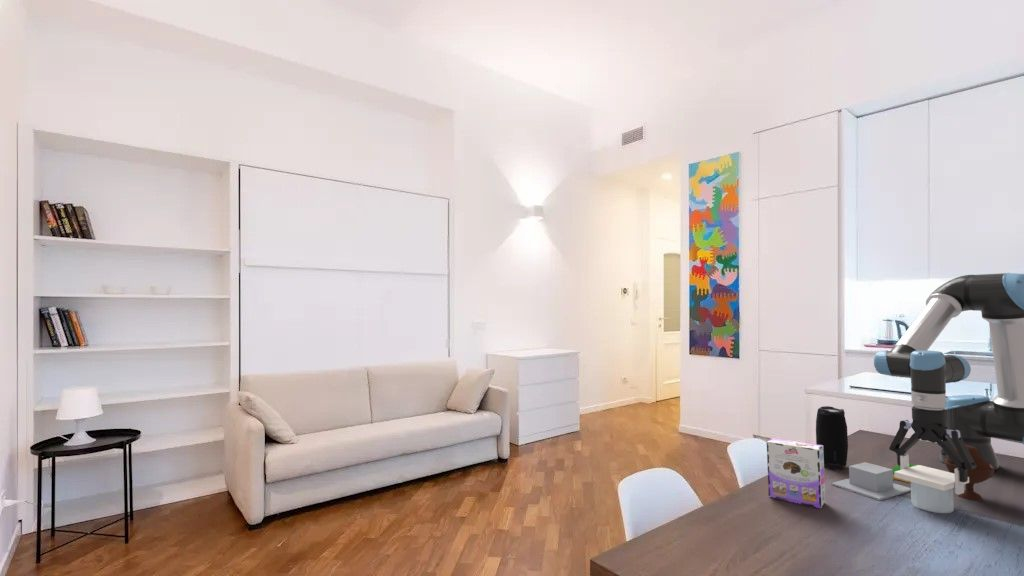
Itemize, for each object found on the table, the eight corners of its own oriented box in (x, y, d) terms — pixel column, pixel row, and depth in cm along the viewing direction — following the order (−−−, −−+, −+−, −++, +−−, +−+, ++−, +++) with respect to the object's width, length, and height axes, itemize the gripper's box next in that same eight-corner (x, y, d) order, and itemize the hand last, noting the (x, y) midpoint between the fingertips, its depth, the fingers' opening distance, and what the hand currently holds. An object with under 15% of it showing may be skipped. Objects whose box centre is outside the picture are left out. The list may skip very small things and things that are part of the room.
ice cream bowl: (1005, 505, 144) (1003, 450, 144) (959, 502, 146) (957, 448, 146) (979, 490, 154) (978, 439, 154) (936, 488, 156) (934, 438, 156)
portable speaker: (820, 460, 185) (818, 404, 185) (851, 465, 178) (849, 408, 179) (813, 466, 178) (812, 408, 179) (845, 472, 172) (844, 412, 172)
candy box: (826, 503, 148) (824, 444, 148) (821, 509, 143) (819, 449, 144) (773, 491, 157) (772, 436, 157) (767, 497, 153) (766, 440, 153)
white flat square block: (919, 469, 152) (918, 464, 152) (969, 482, 141) (969, 477, 141) (894, 477, 147) (894, 471, 147) (944, 490, 136) (944, 485, 136)
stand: (864, 476, 168) (863, 457, 168) (912, 490, 155) (911, 470, 155) (831, 484, 161) (831, 465, 161) (879, 500, 149) (878, 479, 149)
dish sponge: (930, 475, 169) (930, 467, 169) (912, 484, 161) (912, 476, 161) (904, 469, 175) (904, 462, 175) (886, 478, 167) (886, 470, 167)
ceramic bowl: (922, 498, 150) (922, 473, 150) (960, 509, 142) (959, 483, 142) (904, 503, 146) (903, 478, 146) (941, 515, 138) (940, 489, 138)
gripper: (873, 400, 154) (876, 474, 153) (975, 417, 131) (978, 503, 131) (889, 398, 157) (891, 470, 157) (991, 414, 135) (994, 498, 134)
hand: (931, 485), depth 144 cm, fingers open, 12 cm apart
